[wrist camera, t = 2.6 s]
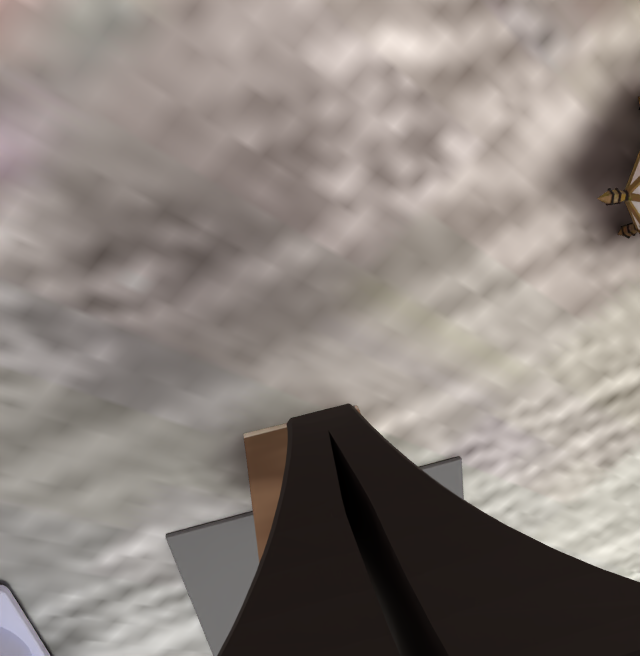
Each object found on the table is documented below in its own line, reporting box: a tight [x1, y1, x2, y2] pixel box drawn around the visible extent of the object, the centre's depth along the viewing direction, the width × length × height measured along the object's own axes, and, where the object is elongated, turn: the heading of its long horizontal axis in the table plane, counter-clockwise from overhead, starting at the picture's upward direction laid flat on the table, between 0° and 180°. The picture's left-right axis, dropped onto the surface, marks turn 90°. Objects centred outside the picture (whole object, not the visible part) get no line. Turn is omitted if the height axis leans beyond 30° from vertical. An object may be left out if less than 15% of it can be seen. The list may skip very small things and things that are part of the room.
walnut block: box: [243, 406, 361, 563], centre depth 22 cm, size 5×4×7 cm
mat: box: [166, 457, 464, 656], centre depth 28 cm, size 14×11×1 cm
